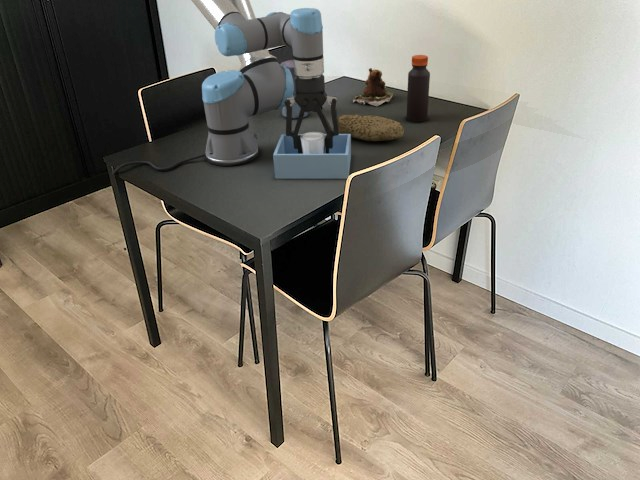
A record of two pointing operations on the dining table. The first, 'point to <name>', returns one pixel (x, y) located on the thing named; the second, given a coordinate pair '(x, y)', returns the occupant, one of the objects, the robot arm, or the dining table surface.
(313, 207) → the dining table surface
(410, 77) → the bottle
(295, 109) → the moka pot
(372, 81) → the bear figurine
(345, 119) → the sponge
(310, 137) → the shot glass
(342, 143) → the open storage box
